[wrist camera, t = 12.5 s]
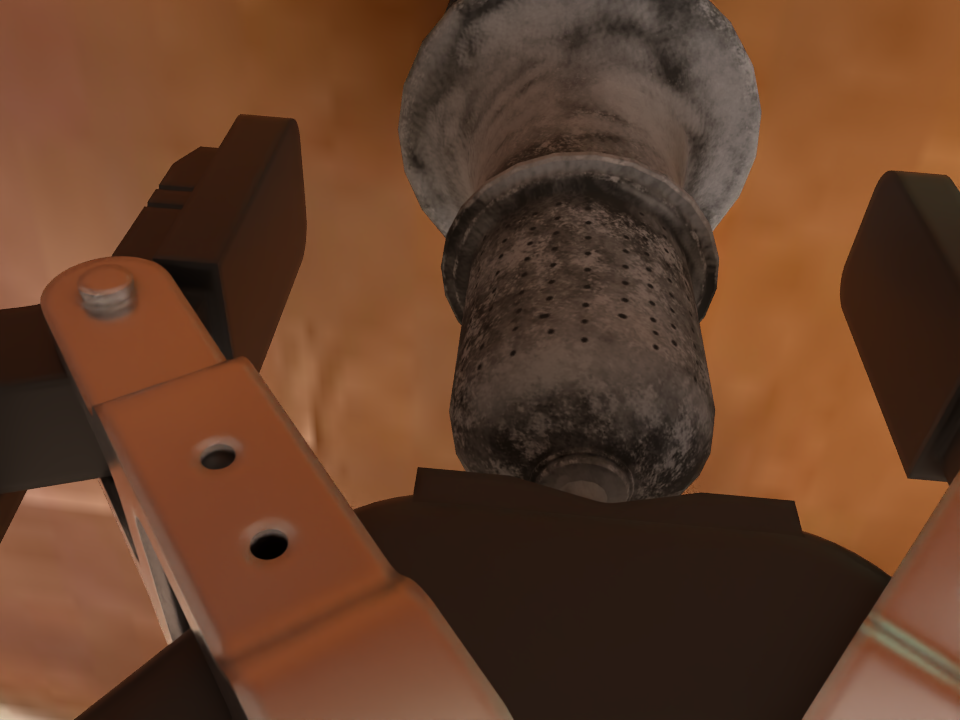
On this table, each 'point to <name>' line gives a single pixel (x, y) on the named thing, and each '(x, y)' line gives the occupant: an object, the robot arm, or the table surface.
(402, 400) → the table surface
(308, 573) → the robot arm
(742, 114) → the salt shaker
